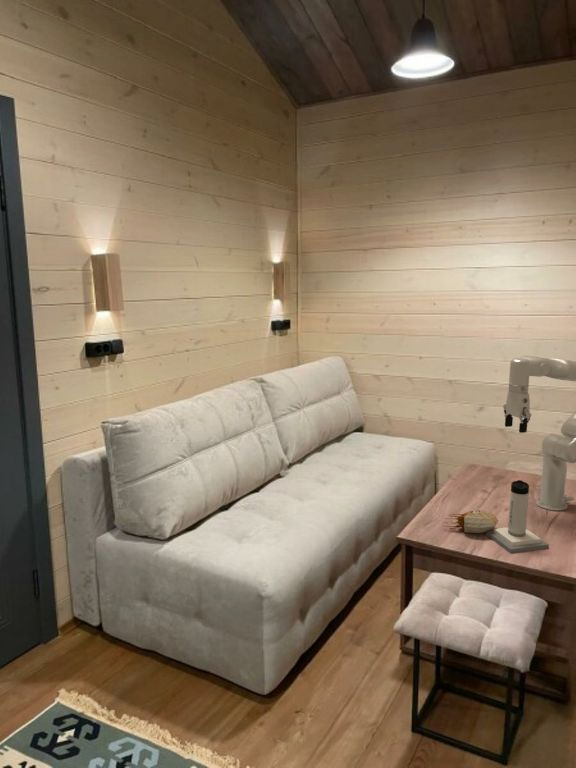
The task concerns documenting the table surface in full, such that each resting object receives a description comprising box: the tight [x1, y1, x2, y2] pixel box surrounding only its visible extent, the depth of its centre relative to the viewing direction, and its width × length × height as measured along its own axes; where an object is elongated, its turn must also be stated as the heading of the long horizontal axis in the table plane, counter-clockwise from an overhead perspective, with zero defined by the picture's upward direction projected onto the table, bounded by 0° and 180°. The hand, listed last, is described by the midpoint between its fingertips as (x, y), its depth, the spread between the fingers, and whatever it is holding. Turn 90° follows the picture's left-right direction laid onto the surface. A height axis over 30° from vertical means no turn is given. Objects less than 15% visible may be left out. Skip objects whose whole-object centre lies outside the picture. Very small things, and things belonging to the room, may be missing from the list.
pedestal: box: [485, 526, 550, 554], centre depth 221 cm, size 16×16×3 cm
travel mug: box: [507, 479, 530, 537], centre depth 220 cm, size 6×7×20 cm
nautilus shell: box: [442, 510, 499, 534], centre depth 231 cm, size 8×22×15 cm
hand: (515, 429), depth 242 cm, fingers open, 9 cm apart
